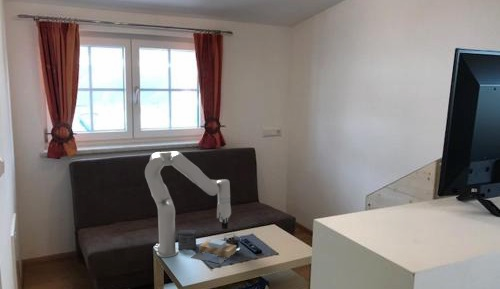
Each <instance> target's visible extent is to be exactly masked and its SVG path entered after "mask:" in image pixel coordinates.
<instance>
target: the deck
mask: <svg viewBox="0 0 500 289" xmlns="http://www.w3.org/2000/svg"><path fill="white" fill-rule="evenodd" d="M211 240H212V239H211ZM211 240H210V239H207V240H205V241H204V242H203V243H200V244H199V246H198V252H199V251H200V252H205V253H210V254H215V255H218V256H223V257H228V259H229V258H231V257H232V256H233V255H234V254H236V253H237V245H236V244H230V243H227V242H226V246H225V247H224V248H222V249H219V248H214V247H209V246H208V242H210V241H211ZM235 252H236V253H235ZM231 255H232V256H231ZM230 256H231V257H230Z"/></svg>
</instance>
